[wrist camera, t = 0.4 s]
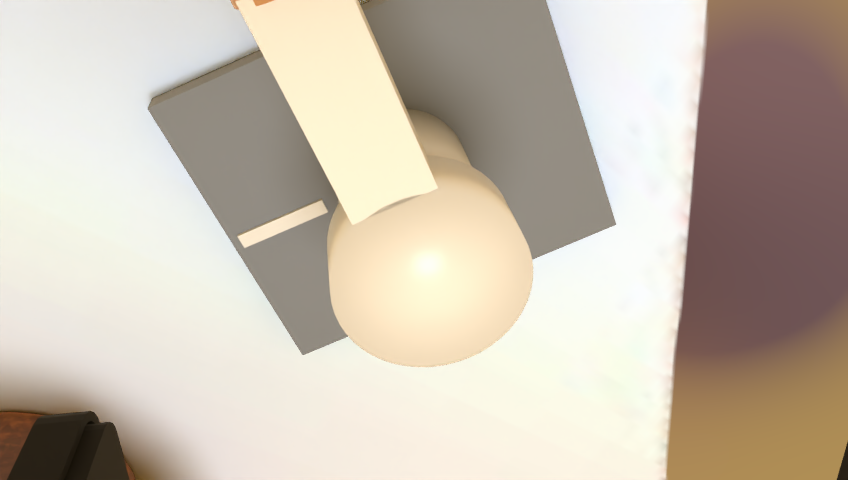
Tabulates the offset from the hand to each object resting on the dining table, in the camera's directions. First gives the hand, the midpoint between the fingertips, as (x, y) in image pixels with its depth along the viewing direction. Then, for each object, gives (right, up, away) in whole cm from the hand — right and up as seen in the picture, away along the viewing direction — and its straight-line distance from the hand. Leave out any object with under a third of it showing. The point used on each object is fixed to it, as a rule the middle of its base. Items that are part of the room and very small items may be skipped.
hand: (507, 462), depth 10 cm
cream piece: (-3, +7, +23) cm, 25 cm away
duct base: (-2, +7, +34) cm, 34 cm away
